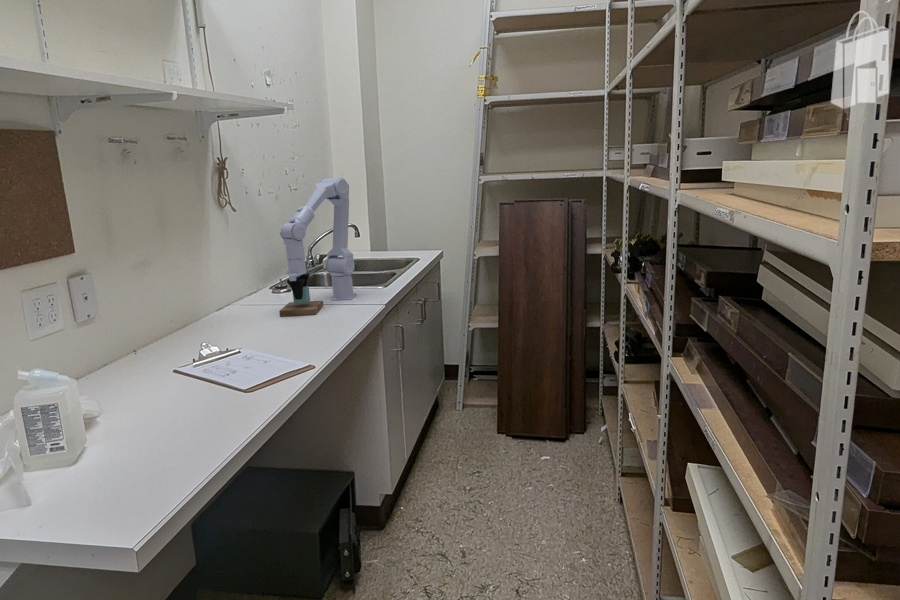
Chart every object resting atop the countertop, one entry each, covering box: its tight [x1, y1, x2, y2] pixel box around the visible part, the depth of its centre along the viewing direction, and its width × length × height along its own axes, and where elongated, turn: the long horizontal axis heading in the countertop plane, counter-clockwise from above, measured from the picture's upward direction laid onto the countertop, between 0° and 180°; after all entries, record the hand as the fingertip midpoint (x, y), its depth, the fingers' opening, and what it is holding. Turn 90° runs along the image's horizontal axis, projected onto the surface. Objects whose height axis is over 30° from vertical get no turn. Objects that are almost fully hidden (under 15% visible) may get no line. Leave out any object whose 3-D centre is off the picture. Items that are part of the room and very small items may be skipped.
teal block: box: [291, 285, 311, 304], centre depth 197 cm, size 4×4×5 cm
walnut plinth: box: [278, 300, 324, 318], centre depth 198 cm, size 12×12×2 cm
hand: (300, 297), depth 197 cm, fingers closed on teal block, 4 cm apart
